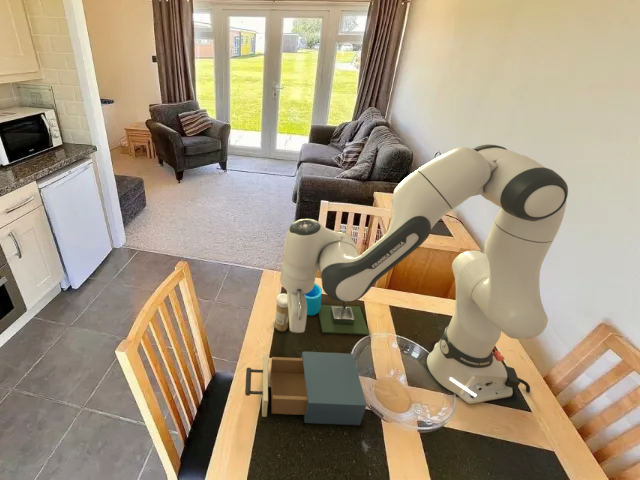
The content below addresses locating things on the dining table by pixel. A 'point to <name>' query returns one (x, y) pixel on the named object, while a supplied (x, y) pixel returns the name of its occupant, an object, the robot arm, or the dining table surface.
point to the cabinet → (332, 389)
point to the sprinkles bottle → (282, 313)
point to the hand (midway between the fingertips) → (292, 314)
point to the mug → (314, 300)
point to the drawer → (281, 386)
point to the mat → (329, 327)
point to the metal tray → (342, 315)
